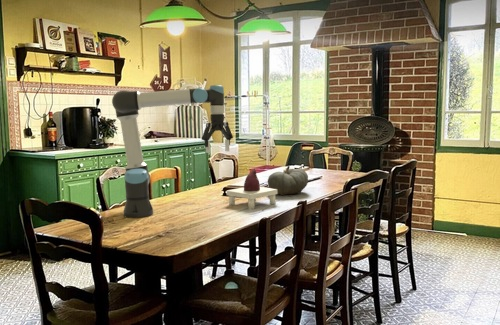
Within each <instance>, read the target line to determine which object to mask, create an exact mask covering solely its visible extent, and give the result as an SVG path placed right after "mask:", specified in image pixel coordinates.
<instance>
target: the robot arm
mask: <svg viewBox="0 0 500 325" xmlns="http://www.w3.org/2000/svg"><path fill="white" fill-rule="evenodd" d="M224 88H225V87H224V86H223V85H220V84H219V85H217V84H215V85H210V86H209V88H207V89H206V88H203V87H198V88H185V89H184V88H183V89H171V90H160V91H147V92H145V91H144V92H140V91H139V90H135V91H133V90H119V91H117V92H116V93H114V95H113V96H112V99H111V103H112V107H113V108H114V110H115V115H116V118H117V119H118V120H119V121H120V127H121V133H122V138H123V144H124V150H125V156H126V162H127V165H126V166H125V172H124V176H123V178H124V184H125V185H124V187H125V205H124V208H123V212H122V213H123V216H124V217H125V216H126V217H125V218H130V217H137V218H143V217H142V216H145V217H149V215H150V216H152V215H153V214H154V208H153V206H152V204H151V201H150V193H149V190H150V189H149V184H150V181H151V176H150V174H149V169H148V164H147V163H146V162H145V161H144V156H143V155H144V154H143V150H142V146H141V145H142V144H141V143H142V142H141V137H140V133H139V132H140V130H139V125H138V120H137V118H138V116H139V115H140V114H139V111H140V110H141V109H142V108H153V107H155V108H156V107H163V106H164V107H165V106H167V107H168V106H177V105H189V104H208V103H209V104H210V122H206V123H205V124H206V125H205V128H204V131H203V134H202V135H201V141H204V147H205V154H210V153H211V141H210V139H211V137H212V136H213V134H215V132H216V131H219V132H221V133H222V135H223V136H224V137H225V139H224V140H225V141H224V144H225V145H224V149H225V152H230V146H231V141H232V139H233V138H234V136H233V134H232V130H231V128H230V126H229V122H227V121H225V114H224V113H225V91H224Z"/></svg>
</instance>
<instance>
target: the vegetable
mask: <svg viewBox="0 0 500 325" xmlns="http://www.w3.org/2000/svg"><path fill="white" fill-rule="evenodd" d="M243 187H244V191H259V190H260V187H261V185H260V181H259V178H258V175H257V170H256V169H255V168H254V169H252V170H251V171H250V172H249V173H248V174H247V176H246V177H245V180H244V182H243Z"/></svg>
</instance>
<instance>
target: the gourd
mask: <svg viewBox="0 0 500 325" xmlns="http://www.w3.org/2000/svg"><path fill="white" fill-rule="evenodd" d="M286 167H287V168H286V170H284V171H283V172H282V171H275V172H273V173H271V174H270V175H268V178H267V185H268V188H271V189H277V194H276V195H281V196H285V195H294V194H299V193H301V192H302V191H303V190H304V189H305V188H306V187H307V185H308V184H309V183H308V182H309V175H308V173H307V172H306V171H305V170H304V169H302V168H296V169H295V168H291V167H290V165H287V166H286Z"/></svg>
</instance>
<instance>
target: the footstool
mask: <svg viewBox="0 0 500 325" xmlns="http://www.w3.org/2000/svg"><path fill="white" fill-rule="evenodd" d="M276 195H278V194H277V189H271V188H269V187H264V186H260V190H259V191H244V186H243V187H239V188H233V189H228V190H226V196H228V201H229V202H228V204H229V206H234V205H236V198H242V199H247V200H248V201H247V202H248V205H247V206H248V210H254V209H255V201H257V199H259V198H265V197H269V205H276V204H277V203H276Z"/></svg>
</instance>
